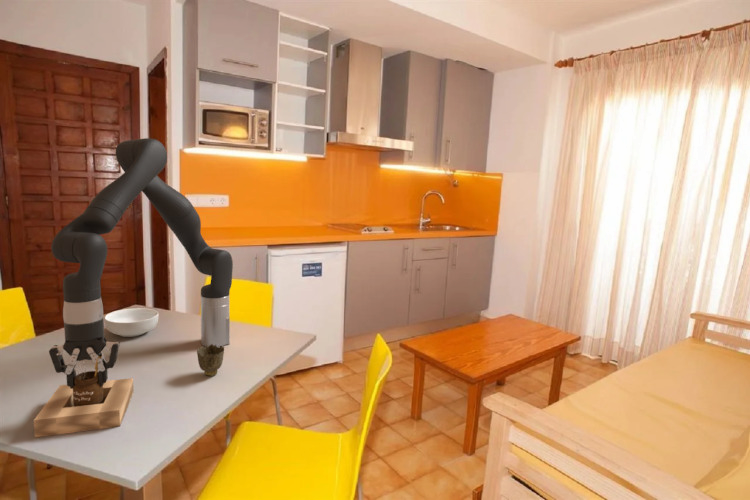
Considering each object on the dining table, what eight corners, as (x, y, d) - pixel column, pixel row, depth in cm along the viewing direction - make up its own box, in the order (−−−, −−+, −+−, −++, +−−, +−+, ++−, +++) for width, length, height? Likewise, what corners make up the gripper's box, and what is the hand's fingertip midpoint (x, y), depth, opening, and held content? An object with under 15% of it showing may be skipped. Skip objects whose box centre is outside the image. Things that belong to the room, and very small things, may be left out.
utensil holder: (85, 395, 103) (82, 349, 101) (110, 397, 102) (108, 351, 100) (67, 408, 97) (64, 360, 95) (93, 410, 97) (91, 361, 95)
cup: (229, 371, 124) (229, 346, 123) (212, 382, 118) (212, 355, 116) (209, 367, 127) (209, 342, 126) (191, 377, 120) (191, 351, 119)
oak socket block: (133, 392, 110) (133, 378, 109) (120, 426, 95) (119, 410, 95) (61, 400, 104) (60, 385, 104) (34, 437, 90) (33, 420, 89)
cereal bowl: (142, 343, 141) (141, 323, 140) (93, 340, 141) (92, 320, 140) (167, 326, 158) (167, 308, 157) (124, 324, 158) (123, 306, 157)
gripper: (123, 310, 102) (125, 375, 105) (52, 314, 97) (57, 381, 100) (115, 320, 95) (119, 389, 98) (39, 324, 90) (45, 397, 93)
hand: (87, 385), depth 99 cm, fingers closed on utensil holder, 5 cm apart
